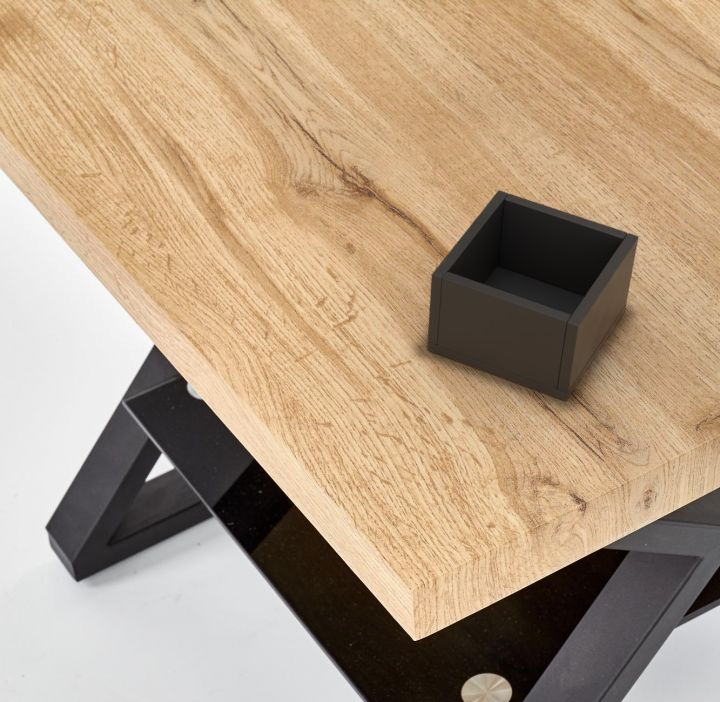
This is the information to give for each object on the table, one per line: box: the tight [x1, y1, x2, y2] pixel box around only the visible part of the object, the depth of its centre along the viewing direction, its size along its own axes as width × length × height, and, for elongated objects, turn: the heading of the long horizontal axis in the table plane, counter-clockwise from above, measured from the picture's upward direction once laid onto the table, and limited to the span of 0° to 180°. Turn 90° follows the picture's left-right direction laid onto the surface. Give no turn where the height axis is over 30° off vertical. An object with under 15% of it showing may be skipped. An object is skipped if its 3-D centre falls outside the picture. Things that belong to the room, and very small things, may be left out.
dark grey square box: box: [426, 189, 639, 402], centre depth 109 cm, size 11×11×7 cm
